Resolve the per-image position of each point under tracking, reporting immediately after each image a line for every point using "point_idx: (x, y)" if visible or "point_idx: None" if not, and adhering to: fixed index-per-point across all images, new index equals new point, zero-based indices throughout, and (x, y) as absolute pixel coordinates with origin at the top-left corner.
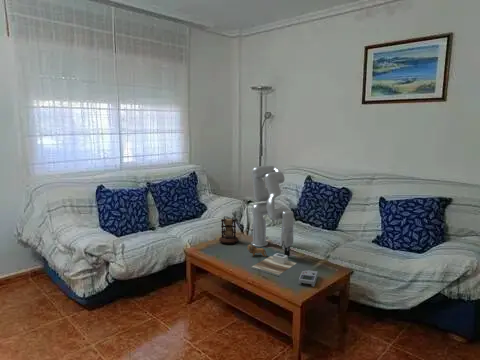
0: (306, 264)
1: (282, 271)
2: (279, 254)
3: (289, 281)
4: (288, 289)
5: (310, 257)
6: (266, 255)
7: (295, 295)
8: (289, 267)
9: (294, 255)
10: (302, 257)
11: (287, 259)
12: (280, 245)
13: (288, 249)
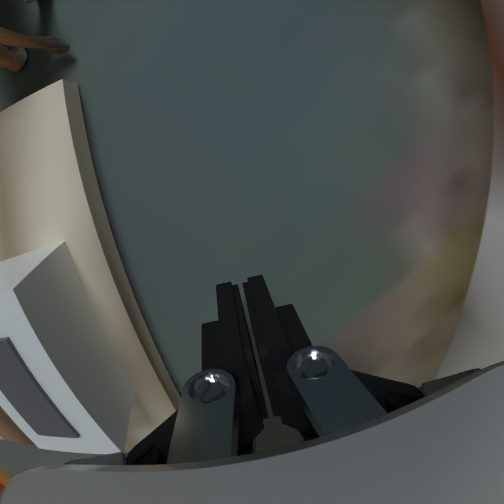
0: (279, 445)
1: (6, 435)
2: (19, 375)
3: (23, 466)
4: (3, 473)
5: (435, 366)
6: (19, 46)
7: None
8: None
9: (419, 247)
10: (409, 337)
11: (127, 412)
12: (6, 492)
13: (254, 450)
